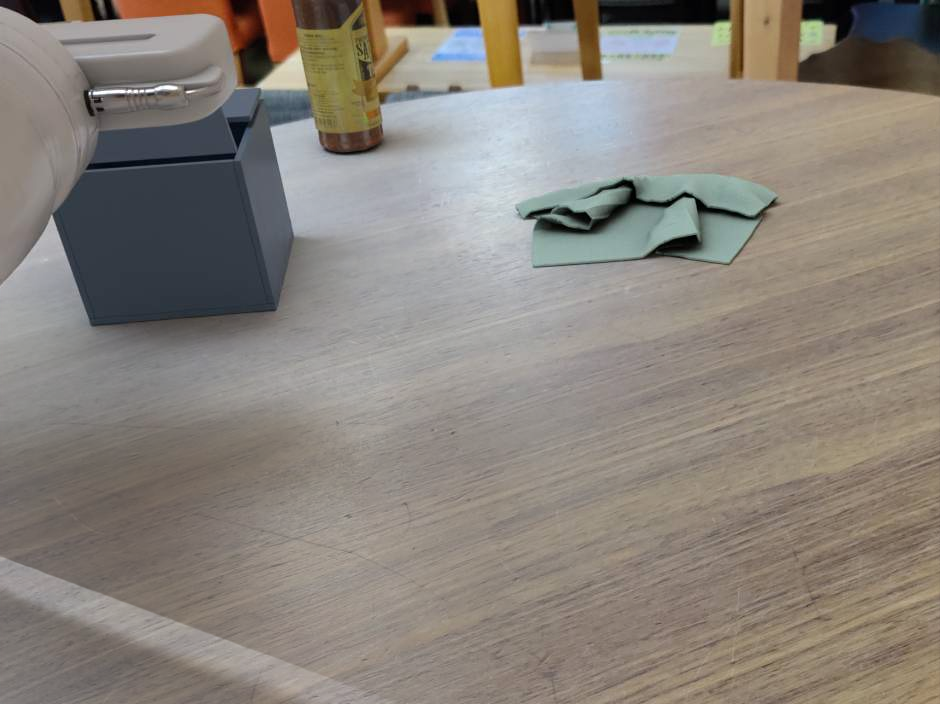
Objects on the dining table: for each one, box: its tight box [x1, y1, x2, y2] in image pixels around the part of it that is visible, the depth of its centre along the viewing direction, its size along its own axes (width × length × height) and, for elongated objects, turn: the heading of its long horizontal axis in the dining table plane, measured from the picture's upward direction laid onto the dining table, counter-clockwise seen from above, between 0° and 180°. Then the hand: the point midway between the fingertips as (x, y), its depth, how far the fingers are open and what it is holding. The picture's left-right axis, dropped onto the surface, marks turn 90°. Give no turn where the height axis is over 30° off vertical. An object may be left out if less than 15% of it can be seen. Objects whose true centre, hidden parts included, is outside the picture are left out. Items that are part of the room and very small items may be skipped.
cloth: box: [514, 173, 780, 268], centre depth 96 cm, size 20×22×2 cm
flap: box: [89, 105, 237, 164], centre depth 75 cm, size 7×13×1 cm
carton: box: [51, 87, 295, 326], centre depth 87 cm, size 14×13×11 cm
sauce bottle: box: [290, 0, 384, 153], centre depth 108 cm, size 7×6×20 cm
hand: (61, 37), depth 67 cm, fingers closed
